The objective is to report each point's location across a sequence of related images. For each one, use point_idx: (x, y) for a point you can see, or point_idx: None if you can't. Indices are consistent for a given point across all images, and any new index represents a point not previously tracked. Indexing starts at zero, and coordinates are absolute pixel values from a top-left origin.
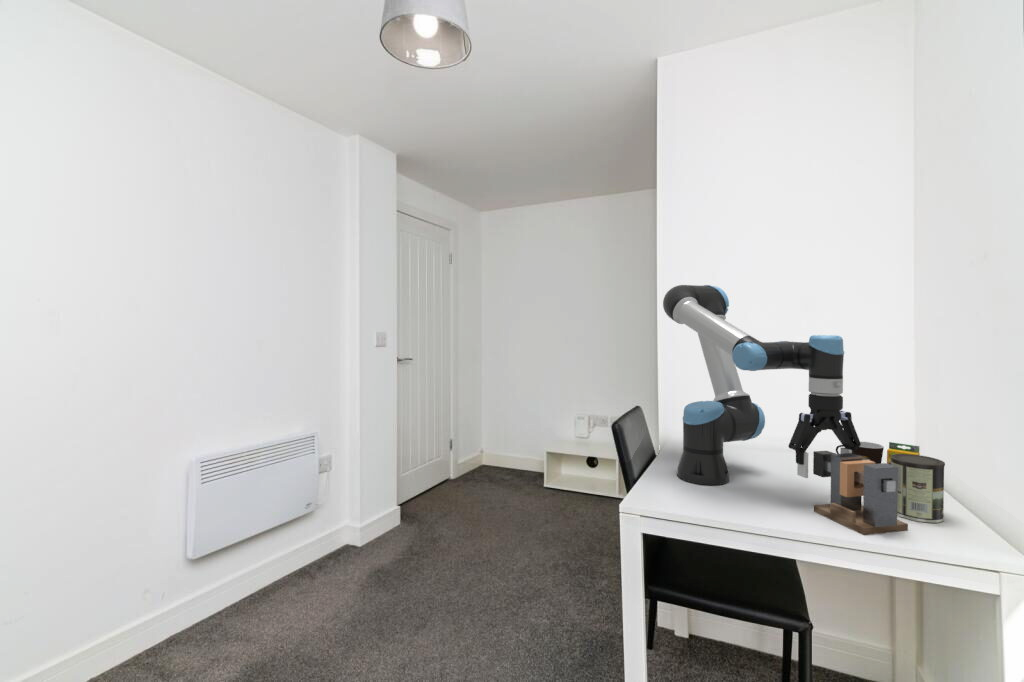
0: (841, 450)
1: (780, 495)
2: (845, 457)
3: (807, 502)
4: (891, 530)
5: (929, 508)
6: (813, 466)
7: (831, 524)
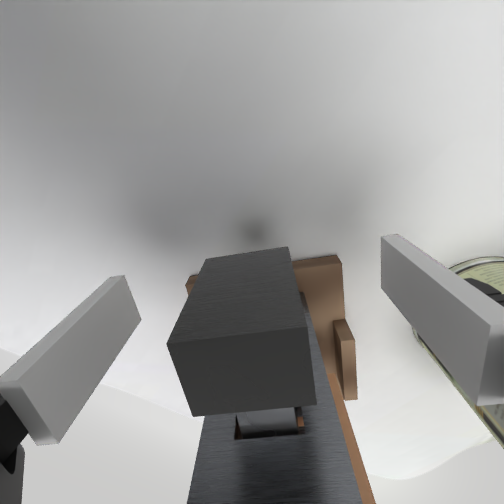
0: (468, 319)
1: (148, 125)
2: None
3: (213, 204)
4: None
5: None
6: (196, 279)
7: None
